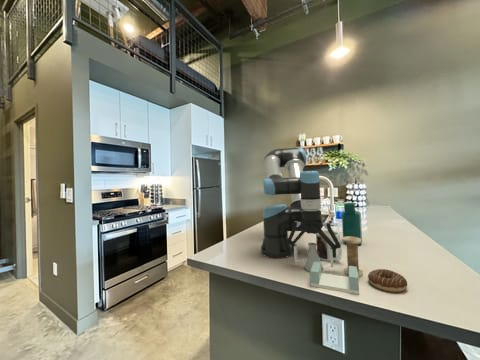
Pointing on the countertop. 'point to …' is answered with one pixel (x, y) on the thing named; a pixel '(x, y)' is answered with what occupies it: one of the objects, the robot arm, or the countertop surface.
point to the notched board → (335, 280)
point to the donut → (387, 280)
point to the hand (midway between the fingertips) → (313, 263)
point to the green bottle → (351, 222)
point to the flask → (312, 257)
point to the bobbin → (352, 253)
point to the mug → (327, 247)
